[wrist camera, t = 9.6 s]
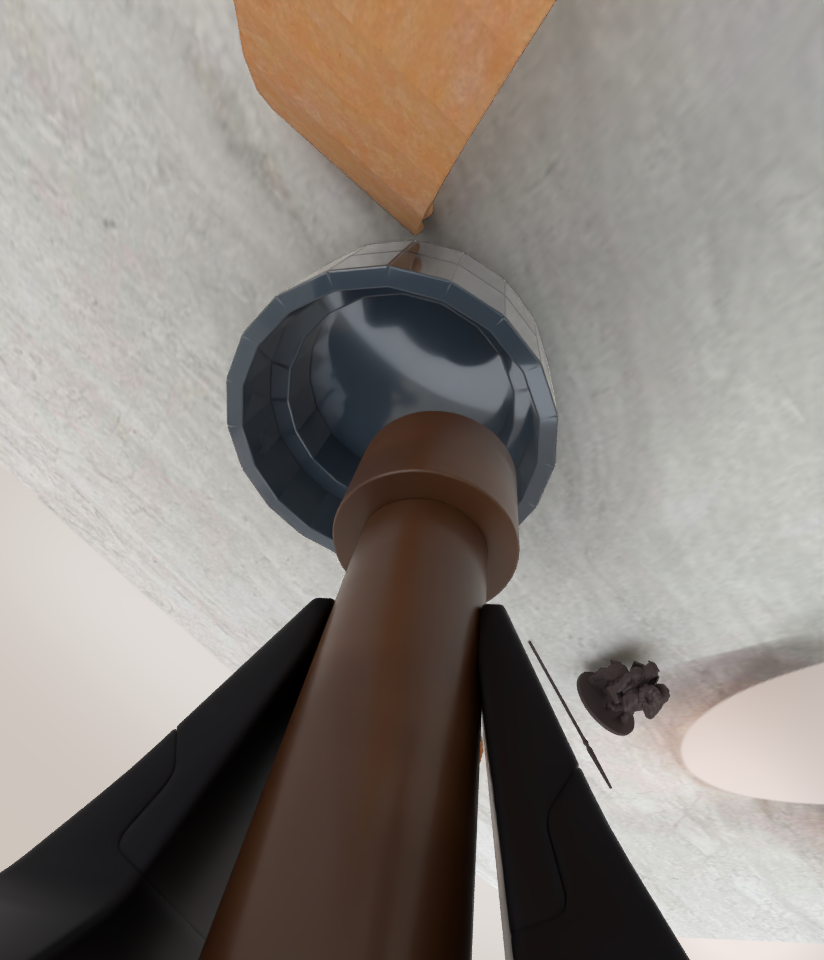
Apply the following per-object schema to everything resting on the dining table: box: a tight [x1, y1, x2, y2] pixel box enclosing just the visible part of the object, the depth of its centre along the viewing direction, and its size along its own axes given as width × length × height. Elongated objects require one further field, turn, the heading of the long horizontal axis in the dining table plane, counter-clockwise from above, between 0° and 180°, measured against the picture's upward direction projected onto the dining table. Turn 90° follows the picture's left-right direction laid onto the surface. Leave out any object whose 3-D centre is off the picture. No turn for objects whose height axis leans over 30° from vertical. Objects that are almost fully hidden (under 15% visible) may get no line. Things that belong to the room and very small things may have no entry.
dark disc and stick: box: [528, 641, 670, 789], centre depth 26 cm, size 5×8×4 cm
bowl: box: [227, 240, 558, 553], centre depth 19 cm, size 11×11×6 cm
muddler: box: [198, 411, 520, 960], centre depth 9 cm, size 4×4×11 cm
